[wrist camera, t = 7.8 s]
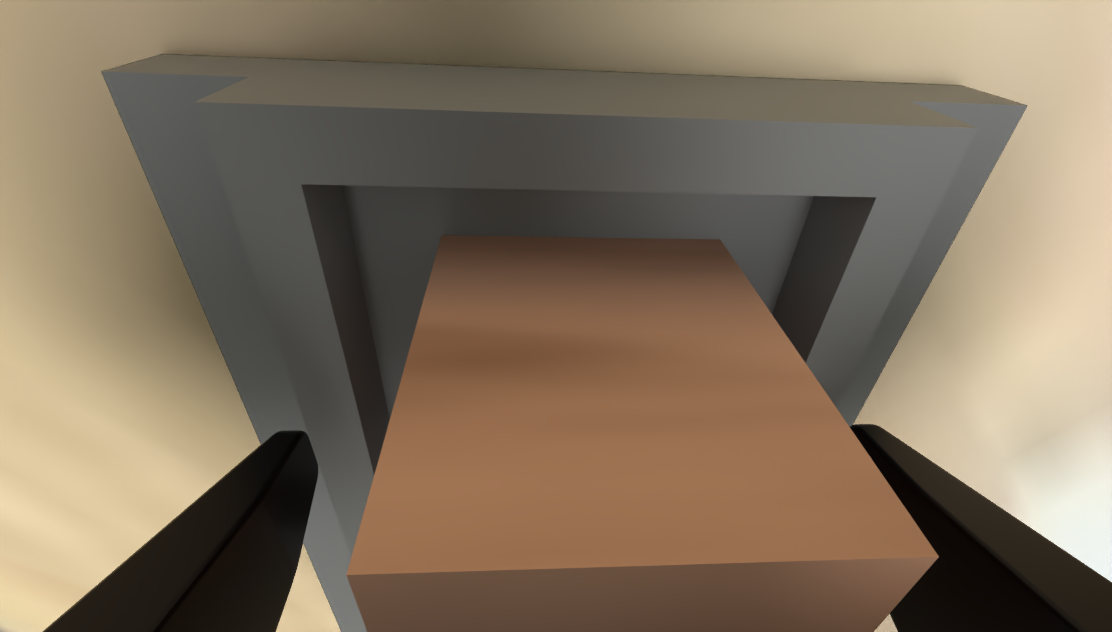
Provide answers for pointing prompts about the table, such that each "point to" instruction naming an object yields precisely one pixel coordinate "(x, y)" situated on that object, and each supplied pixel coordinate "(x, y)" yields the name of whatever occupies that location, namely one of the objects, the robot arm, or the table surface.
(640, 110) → the socket board
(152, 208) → the table surface
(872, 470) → the terracotta block
